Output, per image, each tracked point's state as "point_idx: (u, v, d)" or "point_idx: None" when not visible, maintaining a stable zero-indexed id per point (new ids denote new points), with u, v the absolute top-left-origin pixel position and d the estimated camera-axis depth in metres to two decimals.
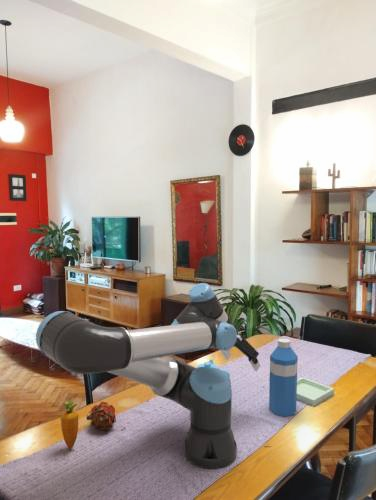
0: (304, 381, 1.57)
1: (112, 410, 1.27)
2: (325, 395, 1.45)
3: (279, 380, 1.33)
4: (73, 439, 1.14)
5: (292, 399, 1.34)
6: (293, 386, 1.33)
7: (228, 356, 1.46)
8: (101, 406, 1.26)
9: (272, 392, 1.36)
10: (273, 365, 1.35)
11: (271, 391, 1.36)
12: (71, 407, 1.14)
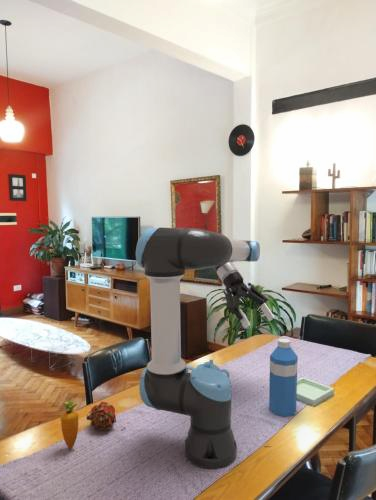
0: (304, 381, 1.57)
1: (112, 410, 1.27)
2: (325, 395, 1.45)
3: (279, 380, 1.33)
4: (73, 439, 1.14)
5: (292, 399, 1.34)
6: (293, 386, 1.33)
7: None
8: (101, 406, 1.26)
9: (272, 392, 1.36)
10: (273, 365, 1.35)
11: (271, 391, 1.36)
12: (71, 407, 1.14)
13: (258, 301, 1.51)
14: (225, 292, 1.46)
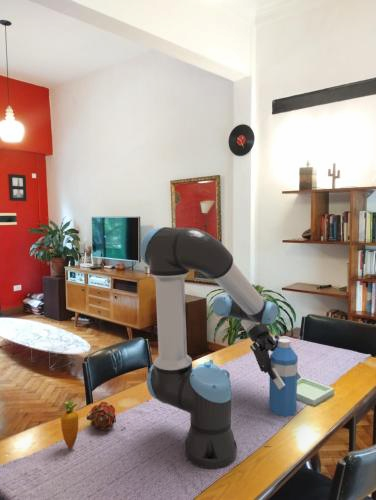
0: (304, 381, 1.57)
1: (112, 410, 1.27)
2: (325, 395, 1.45)
3: None
4: (73, 439, 1.14)
5: (292, 399, 1.34)
6: (293, 386, 1.33)
7: None
8: (101, 406, 1.26)
9: (272, 392, 1.36)
10: (273, 365, 1.35)
11: (272, 391, 1.36)
12: (71, 407, 1.14)
13: None
14: (253, 348, 1.38)
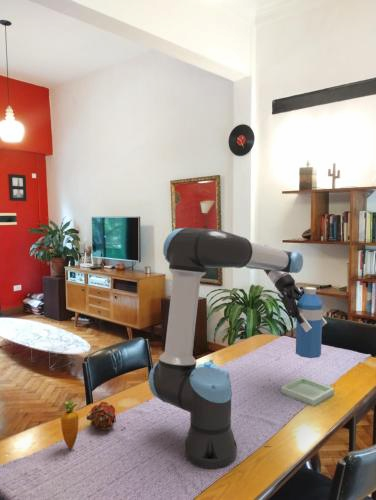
0: (304, 381, 1.57)
1: (112, 410, 1.27)
2: (325, 395, 1.45)
3: None
4: (73, 439, 1.14)
5: (318, 342, 1.44)
6: (319, 330, 1.44)
7: None
8: (101, 406, 1.26)
9: (299, 337, 1.46)
10: (300, 311, 1.45)
11: (298, 335, 1.46)
12: (71, 407, 1.14)
13: None
14: (280, 296, 1.48)
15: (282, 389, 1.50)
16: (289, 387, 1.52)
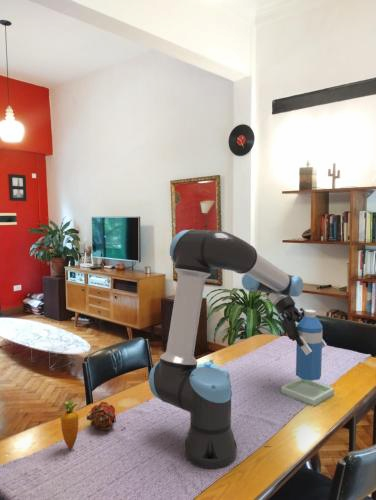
0: (304, 381, 1.57)
1: (112, 410, 1.27)
2: (325, 395, 1.45)
3: None
4: (73, 439, 1.14)
5: (318, 364, 1.45)
6: (319, 352, 1.45)
7: None
8: (101, 406, 1.26)
9: (299, 359, 1.47)
10: (300, 334, 1.46)
11: (298, 357, 1.48)
12: (71, 407, 1.14)
13: None
14: (281, 318, 1.49)
15: (282, 389, 1.50)
16: (289, 387, 1.52)
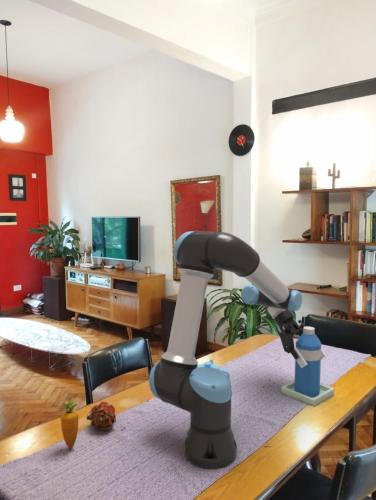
0: None
1: (112, 410, 1.27)
2: (325, 395, 1.45)
3: None
4: (73, 439, 1.14)
5: (316, 382, 1.45)
6: (317, 370, 1.45)
7: None
8: (101, 406, 1.26)
9: (297, 376, 1.47)
10: (299, 351, 1.46)
11: (297, 374, 1.48)
12: (71, 407, 1.14)
13: None
14: (279, 331, 1.49)
15: (282, 389, 1.50)
16: (289, 387, 1.52)
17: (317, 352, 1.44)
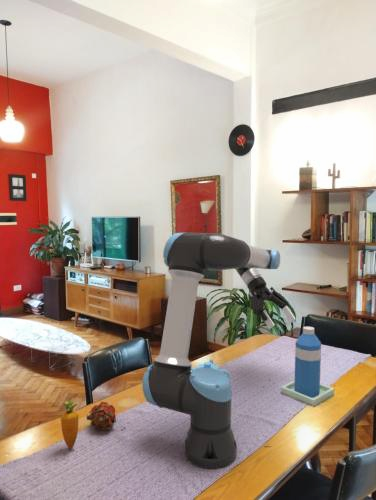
0: None
1: (112, 410, 1.27)
2: (325, 395, 1.45)
3: (305, 364, 1.45)
4: (73, 439, 1.14)
5: (316, 382, 1.45)
6: (317, 370, 1.45)
7: None
8: (101, 406, 1.26)
9: (297, 376, 1.48)
10: (298, 351, 1.46)
11: (297, 374, 1.48)
12: (71, 407, 1.14)
13: (280, 304, 1.63)
14: (250, 295, 1.58)
15: (282, 389, 1.50)
16: (289, 387, 1.52)
17: (317, 352, 1.44)
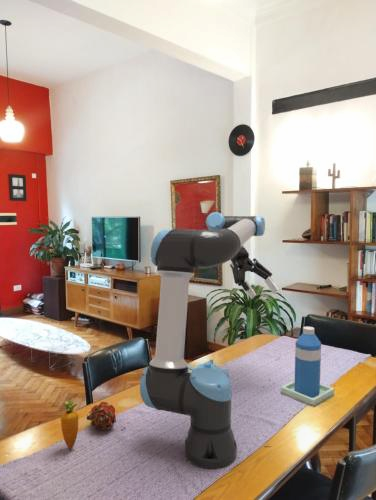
0: None
1: (112, 410, 1.27)
2: (325, 395, 1.45)
3: (305, 364, 1.45)
4: (73, 439, 1.14)
5: (316, 382, 1.45)
6: (317, 370, 1.45)
7: None
8: (101, 406, 1.26)
9: (297, 376, 1.48)
10: (298, 351, 1.46)
11: (297, 374, 1.48)
12: (71, 407, 1.14)
13: (263, 275, 1.58)
14: (232, 265, 1.53)
15: (282, 389, 1.50)
16: (289, 387, 1.52)
17: (317, 352, 1.44)
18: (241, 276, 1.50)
